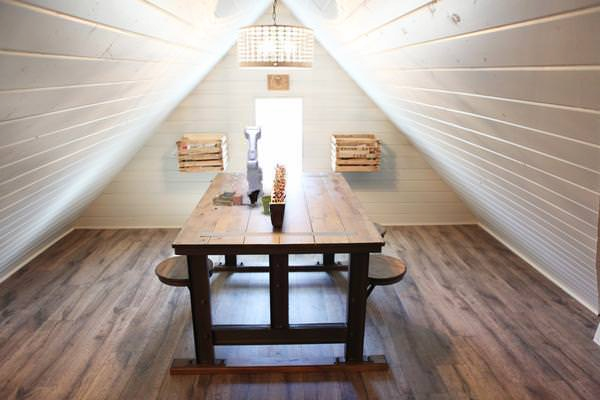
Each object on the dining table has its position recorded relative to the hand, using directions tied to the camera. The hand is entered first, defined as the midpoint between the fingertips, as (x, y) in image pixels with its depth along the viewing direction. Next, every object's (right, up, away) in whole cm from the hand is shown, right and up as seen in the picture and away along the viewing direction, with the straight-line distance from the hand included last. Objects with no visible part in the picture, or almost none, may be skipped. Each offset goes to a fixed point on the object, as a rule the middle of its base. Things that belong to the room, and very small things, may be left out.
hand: (254, 202), depth 264 cm
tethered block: (-6, -1, +2) cm, 6 cm away
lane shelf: (-16, +1, +9) cm, 18 cm away
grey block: (-15, +2, +12) cm, 20 cm away
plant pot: (+10, -6, -12) cm, 16 cm away
